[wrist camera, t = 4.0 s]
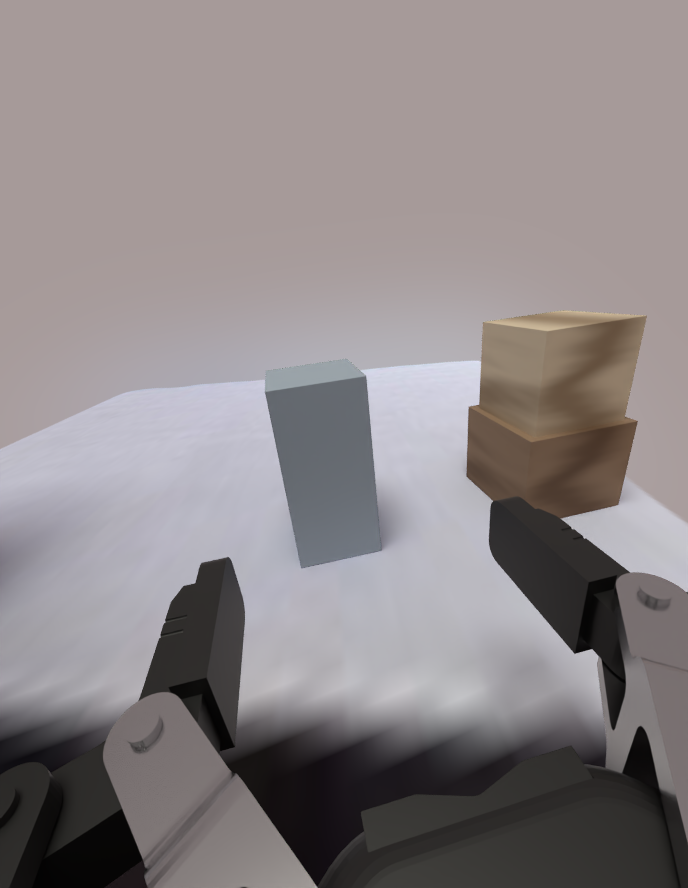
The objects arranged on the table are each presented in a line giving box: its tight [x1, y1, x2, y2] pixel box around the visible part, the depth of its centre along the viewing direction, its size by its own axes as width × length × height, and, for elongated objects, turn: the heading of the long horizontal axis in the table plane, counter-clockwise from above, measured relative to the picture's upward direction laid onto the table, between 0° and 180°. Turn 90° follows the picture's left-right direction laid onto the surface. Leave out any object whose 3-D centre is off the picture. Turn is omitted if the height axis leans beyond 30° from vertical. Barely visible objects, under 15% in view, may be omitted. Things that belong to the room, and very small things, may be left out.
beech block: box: [479, 310, 647, 438], centre depth 23 cm, size 6×6×6 cm
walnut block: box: [467, 405, 638, 518], centre depth 26 cm, size 7×7×6 cm
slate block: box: [265, 359, 381, 568], centre depth 22 cm, size 5×5×11 cm
